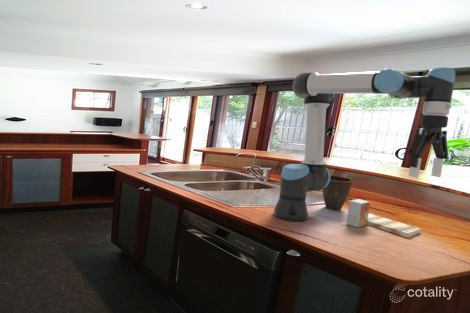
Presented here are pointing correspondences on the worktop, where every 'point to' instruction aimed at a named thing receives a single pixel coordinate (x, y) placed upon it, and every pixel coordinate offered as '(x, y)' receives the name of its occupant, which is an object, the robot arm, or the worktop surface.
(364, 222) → the small box
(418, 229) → the board
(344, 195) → the plant pot
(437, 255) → the worktop surface
